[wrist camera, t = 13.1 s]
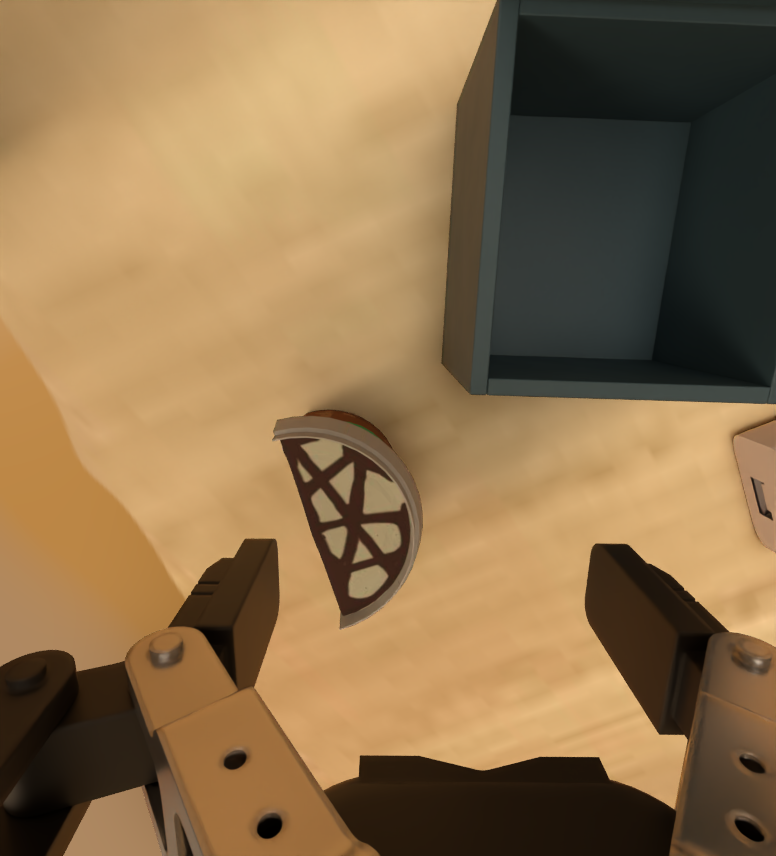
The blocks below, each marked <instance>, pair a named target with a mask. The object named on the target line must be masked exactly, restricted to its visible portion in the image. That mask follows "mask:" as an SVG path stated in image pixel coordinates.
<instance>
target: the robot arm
mask: <svg viewBox="0 0 776 856" xmlns="http://www.w3.org/2000/svg"><path fill="white" fill-rule="evenodd" d="M278 610H279V570H278V548H277V542H276V539H245V540H244V541H243V543H242V545H241V546H240V548H239V550H238V552H237V553H236V555H235V557H234V558H222V559H220V560H219V561H217V562H216V563H214V564H213V565H212V566H210V567H209V568H207V569H206V571H205V572H204V574H203V575H202V577H201V578H200V580H199V581H198V584H196V586H195V587H194V589H193V590H192V592H191V595H189V596H188V598H187V599H186V601H185V602H184V604H183V605H182V607H181V609H180V610H179V612H178V613H177V615H176V616H175V618H174V619H173V621H172V622H171V624H170V625H169V627H168V628H166V629H162V630H159V631H156V632H154V633H151V634H149V635H147V636H145V637H144V638H142V639H141V640H139V641H138V642H137V643H135V644H134V645H133V646H132V647H131V648H130V650H129V651H128V653H127V655H126V657H125V661H123V662H120V663H116V664H112V665H107V666H102V667H98V668H93V669H88V670H83V671H78V672H76V665H75V661H74V658H73V657H72V656H71V655H70V654H69V653H67V652H64V651H59V650H46V651H39V652H35V653H31V654H27V655H24V656H21V657H19V658H17V659H14V660H12V661H10V662H8V663H6V664H4V665H3V666H1V667H0V856H63V855H64V853H65V851H66V849H67V847H68V845H69V843H70V841H71V840H72V838H73V835H74V833H75V832H76V830H77V828H78V826H79V824H80V822H81V820H82V818H83V817H84V815H85V813H86V811H87V809H88V807H89V805H90V803H91V801H92V800H94V799H98V798H101V797H105V796H108V795H112V794H115V793H119V792H122V791H126V790H129V789H133V788H136V787H140V786H142V790H143V794H144V797H145V800H146V804H147V807H148V810H149V813H150V817H151V820H152V823H153V827H154V830H155V833H156V836H157V840H158V843H159V847H160V850H161V853H162V856H776V647H774V646H772V645H770V644H768V643H766V642H764V641H762V640H760V639H757V638H754V637H751V636H748V635H744V634H739V633H732V632H729V631H728V630H727V629H726V628H725V627H724V626H723V625H722V624H721V623H720V622H719V621H717V620H716V619H715V618H714V617H713V616H712V615H711V614H710V613H709V612H708V611H707V610H706V609H705V608H704V607H703V606H702V605H701V604H700V603H699V602H695V598H694V597H693V596H692V595H690V594H689V593H688V592H687V591H684V588H683V587H682V586H681V585H680V584H679V583H678V582H677V581H676V580H675V579H674V578H673V577H672V576H671V575H669V574H667V573H666V572H664V571H662V570H660V569H659V568H657V567H655V566H653V565H652V564H647V563H646V562H645V561H644V560H643V559H642V558H641V557H640V556H639V555H638V554H637V553H636V552H635V551H634V550H633V549H632V548H631V547H630V546H629V545H627V544H595V545H594V546H593V548H592V551H591V556H590V563H589V571H588V579H587V586H586V594H585V611H586V616H587V619H588V622H589V624H590V626H591V627H592V629H593V631H594V632H595V634H596V635H597V637H598V638H599V640H600V642H601V643H602V645H603V646H604V648H605V650H606V651H607V653H608V654H609V656H610V657H611V659H612V661H613V662H614V664H615V665H616V667H617V669H618V670H619V672H620V673H621V675H622V676H623V678H624V680H625V681H626V683H627V684H628V686H629V688H630V689H631V691H632V692H633V694H634V695H635V697H636V699H637V700H638V702H639V703H640V705H641V706H642V708H643V710H644V711H645V713H646V714H647V716H648V718H649V719H650V721H651V722H652V724H653V725H654V727H655V729H656V730H657V732H658V733H659V735H685V736H686V738H687V739H688V742H687V747H686V752H685V757H684V762H683V767H682V772H681V778H680V783H679V788H678V793H677V798H676V804H675V809H673V808H671V807H669V806H668V805H666V804H665V803H663V802H662V801H660V800H658V799H656V798H654V797H652V796H651V795H649V794H647V793H645V792H642V791H640V790H638V789H636V788H633V787H631V786H628V785H625V784H622V783H619V782H616V781H613V780H609V778H608V776H607V773H606V771H605V769H604V767H603V765H602V763H601V761H600V758H599V757H538V758H534V759H530V760H526V761H522V762H518V763H514V764H510V765H506V766H502V767H498V768H495V769H491V770H485V771H482V770H475V769H471V768H467V767H463V766H458V765H454V764H450V763H446V762H442V761H438V760H434V759H429V758H425V757H421V756H360V765H359V777H357V778H353V779H349V780H346V781H344V782H341V783H338V784H336V785H333V786H331V787H330V788H328V789H326V790H324V791H323V790H322V788H321V787H320V785H319V784H318V782H317V781H316V779H315V778H314V776H313V775H312V773H311V772H310V770H309V769H308V767H307V766H306V764H305V763H304V761H303V760H302V758H301V757H300V755H299V754H298V752H297V751H296V749H295V748H294V746H293V745H292V743H291V742H290V740H289V739H288V737H287V736H286V734H285V733H284V731H283V730H282V728H281V727H280V725H279V724H278V722H277V721H276V719H275V718H274V716H273V715H272V713H271V712H270V710H269V709H268V707H267V706H266V704H265V703H264V701H263V700H262V698H261V697H260V695H259V694H258V692H257V691H256V690H255V689H254V686H255V683H256V680H257V677H258V674H259V671H260V668H261V665H262V662H263V659H264V656H265V653H266V650H267V647H268V644H269V641H270V638H271V635H272V632H273V629H274V627H275V624H276V620H277V616H278Z"/></svg>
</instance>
